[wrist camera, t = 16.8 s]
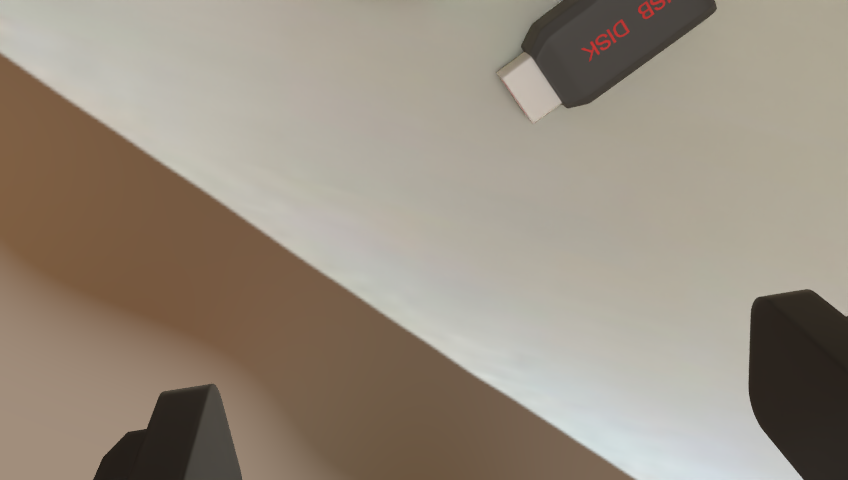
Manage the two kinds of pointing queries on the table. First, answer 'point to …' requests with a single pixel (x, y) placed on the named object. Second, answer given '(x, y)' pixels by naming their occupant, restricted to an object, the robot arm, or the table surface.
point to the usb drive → (593, 48)
